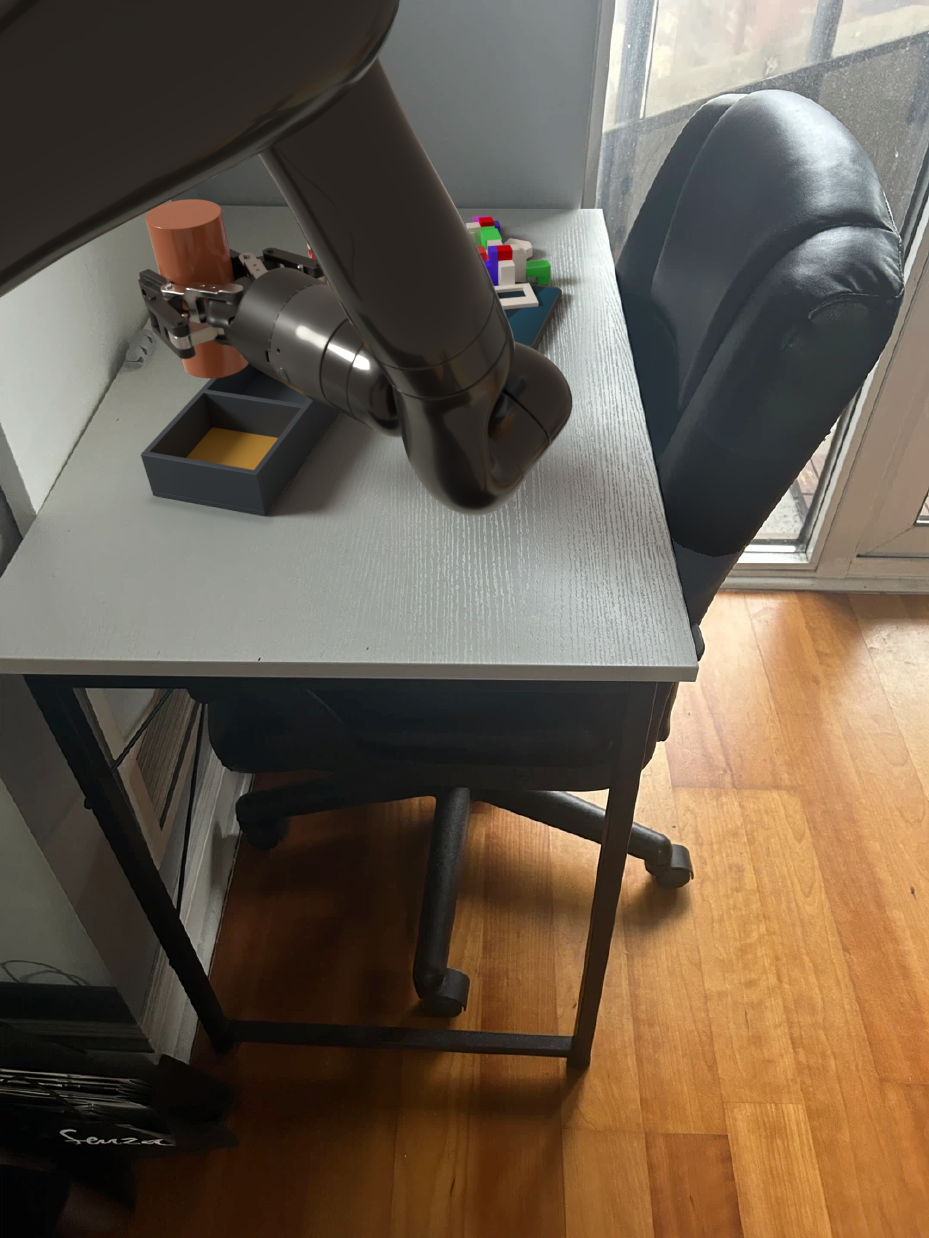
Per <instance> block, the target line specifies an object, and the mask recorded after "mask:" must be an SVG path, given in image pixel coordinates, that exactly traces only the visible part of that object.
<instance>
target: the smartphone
mask: <svg viewBox="0 0 929 1238" xmlns="http://www.w3.org/2000/svg"><path fill="white" fill-rule="evenodd" d="M528 283H529V284H530V286H531V288H532V290H533V292H534V294H535V296H536V298H537V300H538V303H539V304H538V306H537V307H526V308H516V309H505V310H504V311H505V314H506V316H507V318H508V321H509V324H510V326H511V329H512V333H513V337H514V342H518V343H520V344H523V345H525V346H528V347H530V348H532V349H534V350H537V348H538V346H539V343H540V341H541V339H542V338H543V335H544V334H545V331H546V329H547V327H548V325H549V323H550V322H551V319H552V317H553V315H554V313H555V311H556V309H557V307H558V306H559V303H560V301H561V299H562V296H563V291H562V290H563V289H561V288H560V287H558V286H556V285H555V286H554V285H549V284H544V285H539V284H537V283H530V282H528ZM515 284H524V283H523V282H515ZM497 295H498V297H499V299H505V298H516V297H526V295H525V293H524V291H512V292H501V293H497Z"/></svg>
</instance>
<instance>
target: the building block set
mask: <svg viewBox="0 0 929 1238" xmlns="http://www.w3.org/2000/svg"><path fill="white" fill-rule="evenodd" d="M465 225H466V227H467V229H468V230H469V232H470V234H471V236H472V238H473V240H474V243H475V245H476V247H477V249H478V251H479V253H480V255H481V257H482V260H483V262H484V264H485V266H486V268H487V271H488V273H489V275H490V278H491V280H492V283H493V285H494V287H495V290H496V292H497V293H501V292H512V291H524V293H525V295H526V297H516V298H505V299H500V302H501V304H502V307H503V309H504V310H505V309H516V308H526V307H537V306H538V304H539V303H538V300H537V298H536V296H535V294H534V292H533V290H532V288H531V286H530V284H529V283H530V282H527V279H528V278H529V279H530V278H534V281H535V282H536V284H539V285H551V274H552V273H551V268H552V267H551V263H550V261H549V260H548V259H534V260H528V259H530V258H531V257H533V245H532V244H531V241H527V240H522V239H517V238H511V237H510V238H508V239H507V240H506V241H505V242H504V243H503V238H502V235H501V224H500V222H499V220H494V219H493V216H490V215H481V216H472V222H466V223H465ZM515 282H523V283H524V284H515Z"/></svg>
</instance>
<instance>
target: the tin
mask: <svg viewBox="0 0 929 1238" xmlns="http://www.w3.org/2000/svg"><path fill="white" fill-rule="evenodd" d="M144 218H145V224H146V228H147V232H148V235H149V240H150V243H151V247H152V251H153V255H154V258H155V261H156V267H157V270H158V271H157V272H158V274H159V275H161V276H163V277H165V278H167V279H169V280H171V281H173V283H174V284H178V285H184V286H190V285H192V284H193V283H194V282H196V281H198V282H205V283H211V284H217V285H223V286H224V285H226V284H228V283H232V282H234V281H235V276H234V271H233V265H232V260H231V255H230V250H229V248H230V246H229V240H228V236H227V231H226V225H225V222H224V221H225V220H224V216H223V211H222V208H221V206H220V205H219V204H217V203H215V202H213V201H210V200H205V199H197V198H196V199H195V198H194V199H193V198H192V199H180V200H179V199H178V200H173V201H168V202H165V203H163V204H161V205H159V206H157V207H155V208H153V209H151V210H149V211H147V212H146V215H145V217H144ZM207 299H208V298H205V301H206V306H207ZM181 302H182V306H183V309H185V310H189V308H188V304H187V302H186V301H185V300H183V299H181ZM194 349H195V353H196V355H195V356H194V357H192V358H189V359H181V358H180V361H181V365H182V367H183V370H184V371H185V372H186V373H187V374H189V375H190V376H193V377H195V378H200V379H211V378H220V377H225V376H229V375H232V374H235V373H237V372H239V371H241V370H242V369H244V368H245V367H246V366H247V365H248V364H249V363H248V362H247V361H246V359H245V358H244V357H243V356H242V355H241V354H240V353H239V352H238V351H237V349H236V348H234V347H233V346H228V345H221V344H217V343H215V342H214V341H213V340H210V341H207V342H204V343H201V344H197V345H195V346H194Z"/></svg>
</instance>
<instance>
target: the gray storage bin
mask: <svg viewBox="0 0 929 1238" xmlns="http://www.w3.org/2000/svg"><path fill="white" fill-rule="evenodd" d="M340 413H341V412H340V411H338V410H337V409H335V408H332V407H330V406H326V405H323V404H321V403H318V402H316V401H314V400H312V399H310V398H308V397H306V396H304V395H302V394H301V393H299V392H297V391H295V390H294V389H292V388H290V387H288V386H287V385H285V384H283V383H281V382H279V381H278V380H276V379H274V378H272V377H271V376H269V375H267V374H265V373H263V372H262V371H260V370H258V369H256V368H255V367H253V366H252V365H251V364H250V363H249V364H248V365H247V366H246V367H245V368H244V369H242V370H241V371H239V372H237V373H235V374H232V375H229V376H225V377H220V378H209V380H208V381H207V382H206V383H205V384H204V385H203V386H202V387H201V389H199V391H198V392H197V393H196V394H195V395H194V396H193V397H192V398H191V399H190V400H189V401H188V402H187V403H186V404H185V405H184V407H183V408H182V409H181V410H179V412H178V413H177V414H176V415H175V416H174V417H173V419H171V421H170V422H169V423H168V424H167V425H166V426H165V427H164V428H163V429H162V430H161V431H160V432H159V434H158V435H157V436H156V437H155V438H153V440H152V441H151V443H149V445H148V446H146V448H145V449H144V450H142V452H141V453H140V458H141V461H142V464H143V467H144V470H145V473H146V477H147V481H148V483H149V486H150V489H151V492H152V496H154V497H158V498H165V499H171V500H175V501H182V502H187V503H192V504H197V505H202V506H209V507H213V508H220V509H224V510H231V511H235V512H239V513H246V514H251V515H257V516H262V517H266V516H267V515H268V514H269V513H270V511H271V510H272V508H273V507H274V506H275V504H276V502H277V501H278V500H279V498H280V497H281V496H282V494H283V493H284V492H285V490H286V489H287V487H288V485H289V484H290V483H291V481H292V480H293V478H295V476H296V474H297V473H298V472H299V470H300V469H301V468H302V466H303V464H304V462H306V460H307V459H308V458H309V456H310V455H311V453H312V452H313V450H314V449H315V448H316V447H317V445H318V443H319V442H320V440H321V439H322V437H323V436H324V435H325V434H326V433H327V431H328V429H329V428H330V426H331V425H332V423H333V422H334V421H335V419H336V418H337V416H338V415H339V414H340Z"/></svg>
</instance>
